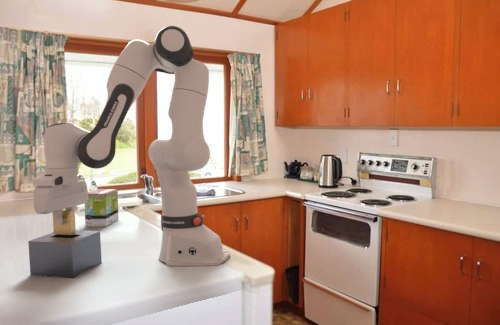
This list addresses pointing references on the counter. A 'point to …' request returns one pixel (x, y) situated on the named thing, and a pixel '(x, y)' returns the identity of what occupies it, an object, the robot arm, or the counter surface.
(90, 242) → the money box
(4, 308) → the counter surface
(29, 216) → the counter surface
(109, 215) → the tea box
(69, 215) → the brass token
